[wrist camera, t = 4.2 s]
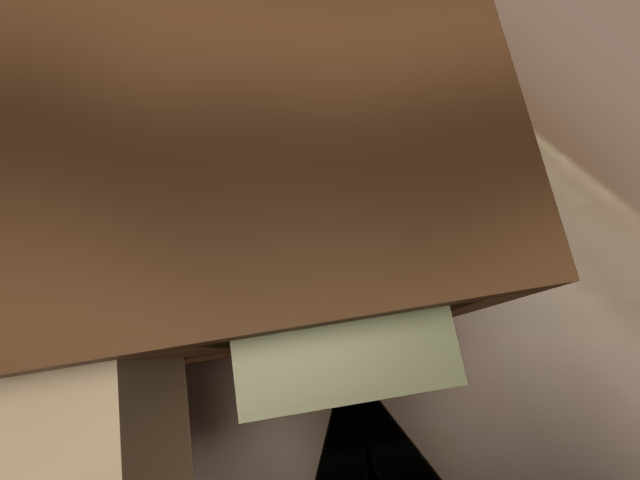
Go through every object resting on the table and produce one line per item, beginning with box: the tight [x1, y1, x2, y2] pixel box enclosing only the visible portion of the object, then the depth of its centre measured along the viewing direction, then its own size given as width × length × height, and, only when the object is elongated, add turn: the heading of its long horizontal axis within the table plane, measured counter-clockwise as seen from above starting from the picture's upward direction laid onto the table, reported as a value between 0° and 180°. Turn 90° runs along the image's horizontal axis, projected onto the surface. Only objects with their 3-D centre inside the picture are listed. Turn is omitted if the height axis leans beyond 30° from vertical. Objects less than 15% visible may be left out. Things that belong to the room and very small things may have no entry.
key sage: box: [230, 305, 468, 424], centre depth 10 cm, size 6×4×4 cm, turn 9°
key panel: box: [0, 0, 580, 379], centre depth 12 cm, size 8×19×11 cm, turn 99°
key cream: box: [0, 358, 194, 480], centre depth 10 cm, size 6×4×4 cm, turn 9°
